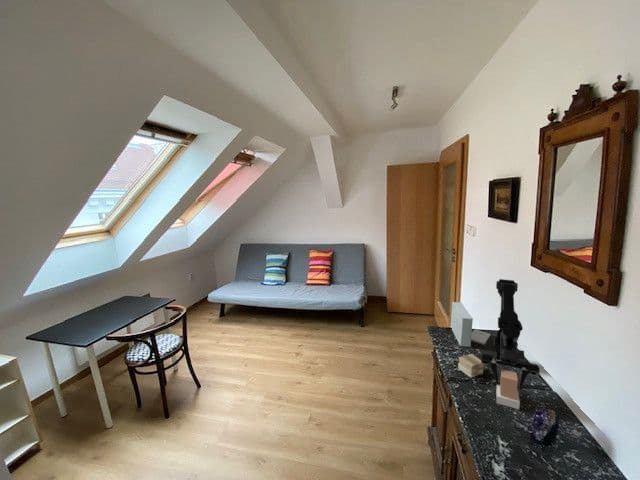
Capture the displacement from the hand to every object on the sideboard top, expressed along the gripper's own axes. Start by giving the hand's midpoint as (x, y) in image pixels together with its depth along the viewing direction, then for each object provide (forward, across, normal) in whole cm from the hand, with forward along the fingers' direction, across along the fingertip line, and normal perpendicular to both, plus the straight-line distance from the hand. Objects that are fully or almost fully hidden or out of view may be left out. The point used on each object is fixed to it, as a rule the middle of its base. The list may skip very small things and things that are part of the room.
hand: (508, 387), depth 106 cm
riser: (+4, 0, +6) cm, 7 cm away
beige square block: (-7, -13, +13) cm, 20 cm away
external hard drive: (-28, -11, +38) cm, 49 cm away
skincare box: (-26, -19, +36) cm, 49 cm away
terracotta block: (+2, 0, +4) cm, 4 cm away
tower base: (-5, -13, +15) cm, 21 cm away
